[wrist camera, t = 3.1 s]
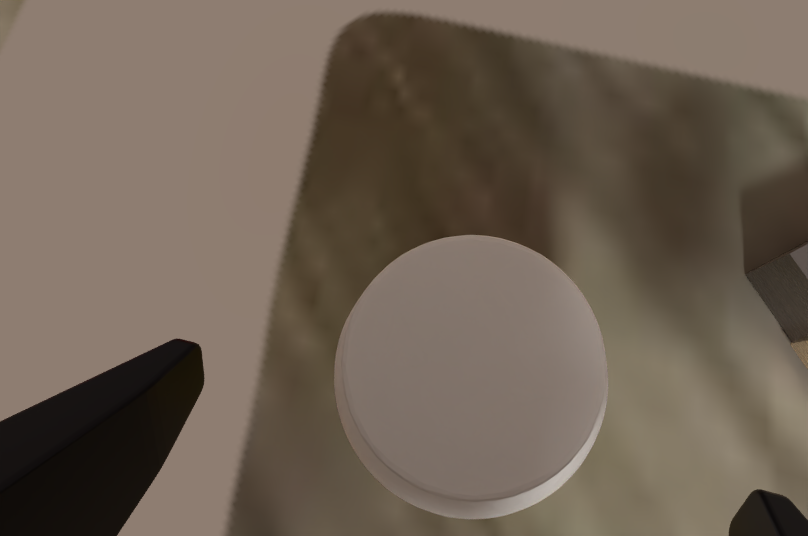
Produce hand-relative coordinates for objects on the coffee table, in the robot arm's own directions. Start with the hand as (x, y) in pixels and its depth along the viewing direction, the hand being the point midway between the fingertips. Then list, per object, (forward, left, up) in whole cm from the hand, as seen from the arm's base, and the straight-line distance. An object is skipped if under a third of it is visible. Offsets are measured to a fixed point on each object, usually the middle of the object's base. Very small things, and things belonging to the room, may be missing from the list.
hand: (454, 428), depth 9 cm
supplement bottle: (+1, +1, -9) cm, 9 cm away
